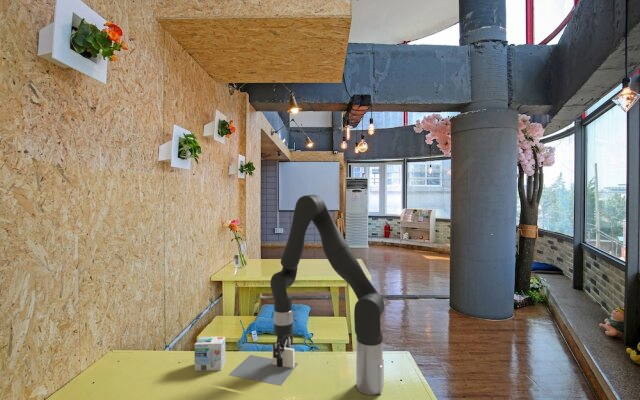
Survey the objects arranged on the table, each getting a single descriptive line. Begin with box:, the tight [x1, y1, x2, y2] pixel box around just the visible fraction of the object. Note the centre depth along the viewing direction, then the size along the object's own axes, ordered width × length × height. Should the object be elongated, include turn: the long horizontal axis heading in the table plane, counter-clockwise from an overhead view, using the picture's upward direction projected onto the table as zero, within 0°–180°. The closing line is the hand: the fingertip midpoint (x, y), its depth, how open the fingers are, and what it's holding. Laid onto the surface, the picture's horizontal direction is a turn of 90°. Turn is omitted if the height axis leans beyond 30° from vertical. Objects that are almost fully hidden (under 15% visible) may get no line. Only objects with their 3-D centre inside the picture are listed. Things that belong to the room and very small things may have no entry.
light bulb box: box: [194, 336, 226, 372], centre depth 134 cm, size 11×7×11 cm, turn 93°
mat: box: [228, 354, 299, 387], centre depth 131 cm, size 22×16×1 cm
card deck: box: [272, 346, 296, 369], centre depth 134 cm, size 9×2×7 cm, turn 71°
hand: (283, 361), depth 134 cm, fingers open, 6 cm apart
